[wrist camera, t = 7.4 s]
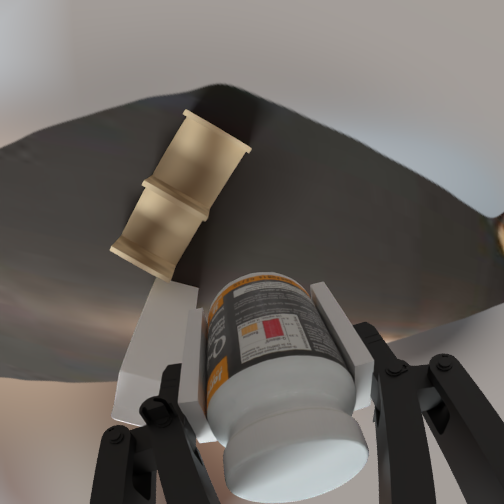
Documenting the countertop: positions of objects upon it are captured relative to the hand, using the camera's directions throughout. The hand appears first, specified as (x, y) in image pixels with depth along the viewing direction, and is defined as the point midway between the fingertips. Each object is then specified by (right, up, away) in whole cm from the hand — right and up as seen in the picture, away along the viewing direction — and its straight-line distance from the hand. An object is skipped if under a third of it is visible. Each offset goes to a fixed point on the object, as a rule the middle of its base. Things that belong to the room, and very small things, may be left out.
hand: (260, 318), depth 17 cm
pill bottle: (0, 0, +1) cm, 1 cm away
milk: (-11, -3, +26) cm, 29 cm away
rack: (-9, +11, +21) cm, 25 cm away
